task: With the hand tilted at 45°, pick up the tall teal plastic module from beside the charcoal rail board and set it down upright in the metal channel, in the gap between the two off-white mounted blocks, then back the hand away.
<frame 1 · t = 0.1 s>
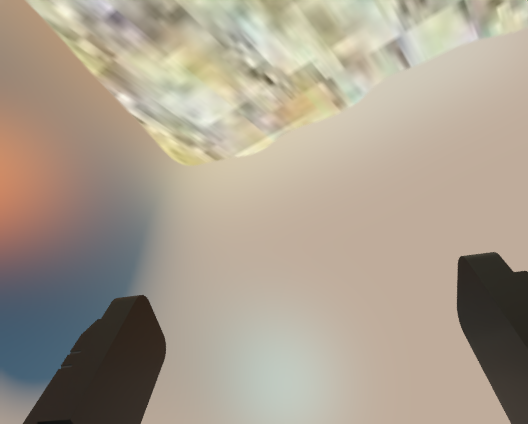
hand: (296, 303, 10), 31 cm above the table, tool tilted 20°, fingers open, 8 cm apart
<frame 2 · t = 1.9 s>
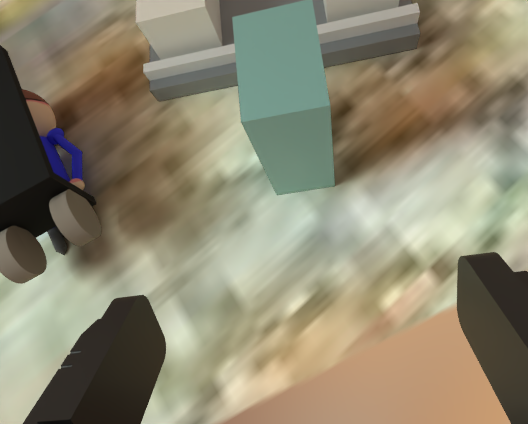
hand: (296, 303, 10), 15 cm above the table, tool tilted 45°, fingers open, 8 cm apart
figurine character: (63, 186, 31), on the table
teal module: (300, 151, 27), on the table
rail board: (273, 19, 31), on the table
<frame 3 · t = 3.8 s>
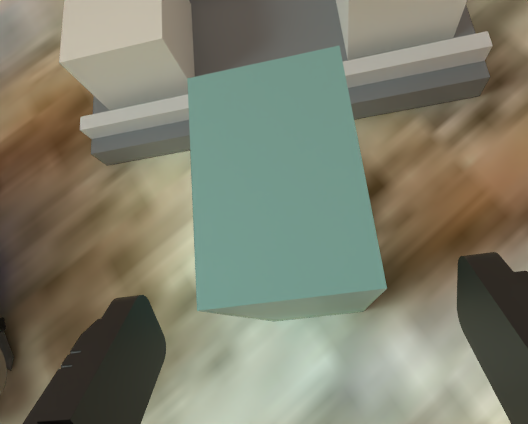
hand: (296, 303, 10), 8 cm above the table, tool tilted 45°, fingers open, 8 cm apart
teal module: (308, 251, 18), on the table
rail board: (268, 49, 22), on the table
mounted blocks: (255, 0, 19), point 4 cm above the table
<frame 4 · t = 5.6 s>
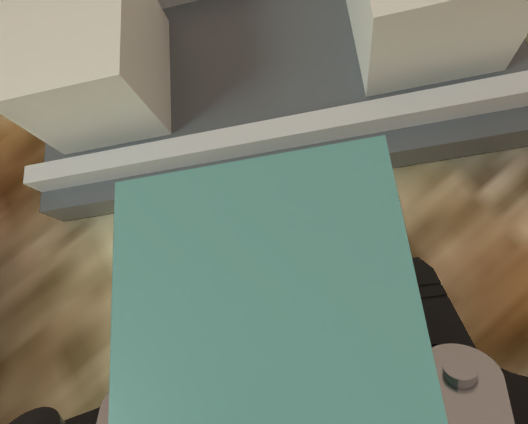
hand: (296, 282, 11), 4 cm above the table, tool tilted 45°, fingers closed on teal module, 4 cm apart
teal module: (316, 349, 14), on the table, touching gripper
rail board: (264, 77, 18), on the table
mounted blocks: (247, 19, 15), point 4 cm above the table
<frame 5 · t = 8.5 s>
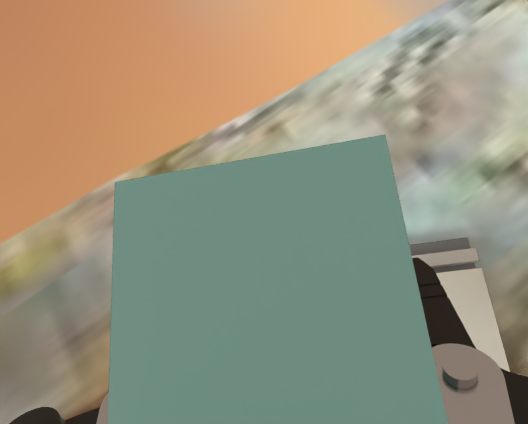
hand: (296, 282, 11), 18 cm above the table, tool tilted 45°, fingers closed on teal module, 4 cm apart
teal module: (316, 349, 14), point 14 cm above the table, touching gripper
rail board: (328, 338, 27), on the table
mounted blocks: (326, 340, 23), point 4 cm above the table
when the fingers open (7 cm above the table, at t = 11.2 s): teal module drops 1 cm, resting on rail board.
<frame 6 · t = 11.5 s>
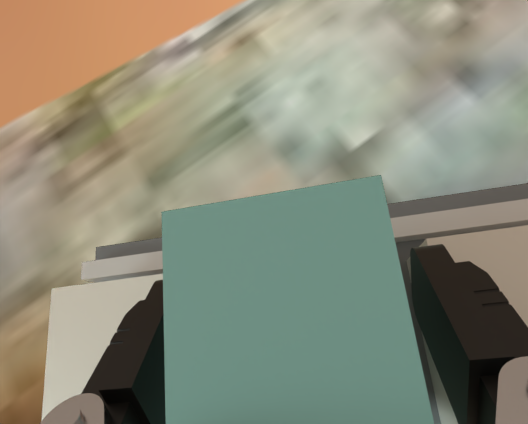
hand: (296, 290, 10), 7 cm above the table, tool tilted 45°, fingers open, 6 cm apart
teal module: (322, 348, 15), point 2 cm above the table, touching rail board
rail board: (320, 346, 17), on the table
mounted blocks: (314, 350, 13), point 4 cm above the table
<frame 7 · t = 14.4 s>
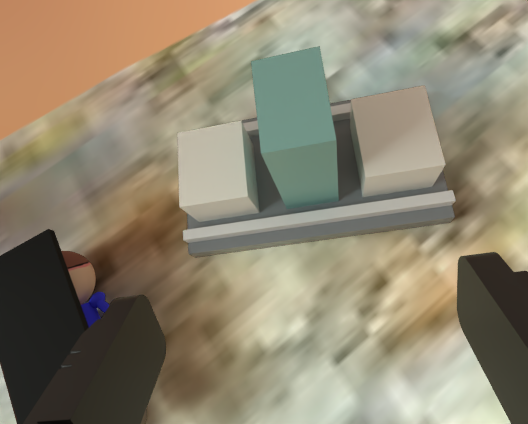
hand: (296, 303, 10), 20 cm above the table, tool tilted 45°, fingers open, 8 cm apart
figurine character: (102, 340, 32), on the table
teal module: (307, 169, 31), point 1 cm above the table, touching rail board
rail board: (306, 176, 32), on the table
mounted blocks: (302, 159, 29), point 4 cm above the table
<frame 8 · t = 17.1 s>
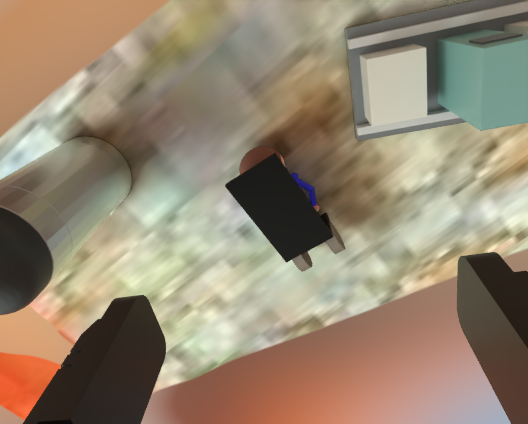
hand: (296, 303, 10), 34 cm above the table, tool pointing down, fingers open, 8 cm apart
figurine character: (289, 194, 46), on the table
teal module: (459, 67, 37), point 1 cm above the table, touching rail board
rail board: (451, 66, 38), on the table
mounted blocks: (465, 70, 35), point 4 cm above the table
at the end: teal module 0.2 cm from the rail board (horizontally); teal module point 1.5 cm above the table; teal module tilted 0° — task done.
